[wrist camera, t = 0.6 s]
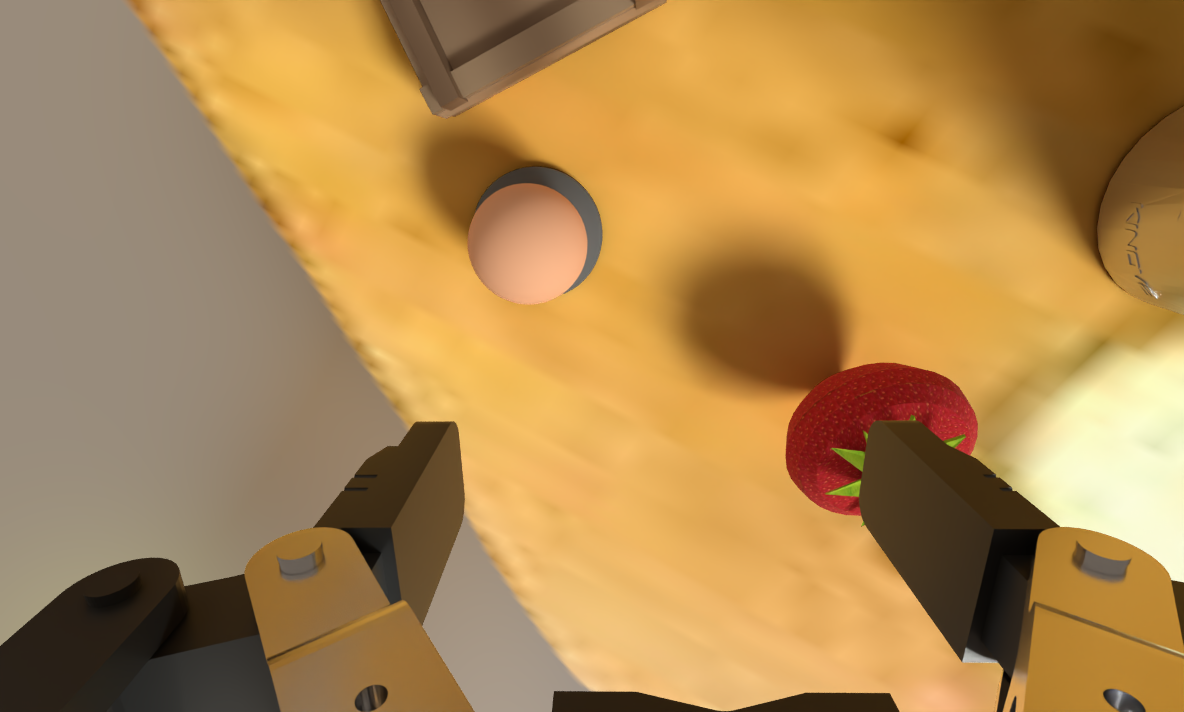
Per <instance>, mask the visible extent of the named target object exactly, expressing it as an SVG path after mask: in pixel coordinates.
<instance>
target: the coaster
mask: <svg viewBox="0 0 1184 712" xmlns="http://www.w3.org/2000/svg"><path fill="white" fill-rule="evenodd" d="M521 183H533V184H539V185H543V186H546V187H549V188H551V189H553V190H555V191H557V192H558V193H560V194H562V195H563V196H564V197H565V198H567V199H568V200H569V201H570V202H571V203H572V205H573V206H574V207H575V208H576V210H577V211H578V213H579V215H580V216H581V218H582V221H583V223H584V226H585V230H586V234H587V256H586V260H585V264H584V267H583V269H582V271H581V273H580V275H579V277H578V278H577V280H576V281H575V282H574V283H573V285H572V286H571V287H570V288H569V289H568V290H567V291H565V292H564V293H566V292H568V291H570V290H572V289H574V288H575V287H576V286H578V285H579V284H580V283H581V282H582V281H584V280H585V279H586V277H587V276H588V275H589V274H590V272H591V271H592V269H593V268H594V266H595V264H596V262H597V259H598V257H599V253H600V250H601V244H602V223H601V219H600V214H599V212H598V209H597V207H596V205H595V203H594V201H593V199H592V197H591V196H590V195H589V193H588V192H587V191H586V190H585V188H584V187H583V186H582V185H581V184H580V183H578V182H577V181H576V180H575V179H573V178H572V177H570V176H569V175H567V174H565V173H563V172H560V171H558V170H555V169H552V168H546V167H525V168H521V169H517V170H514V171H512V172H509V173H507V174H505V175H503V176H502V177H500V178H499V179H497V180H496V181H495V182H494V183H492V184H491V185H490V187H489V188H488V189H487V190H486V191H485V193H484V194H483V196H482V197H481V199H480V201H479V203H478V205H477V208H476V211H477V210H478V208H479V207H480V205H481V204H482V203H483V202H484V201H485V200H486V199H487V198H488V197H489V196H491V195H492V194H493V193H495V192H496V191H498V190H500V189H502V188H504V187H507V186H510V185H514V184H521ZM476 211H475V213H476ZM564 293H563V294H564Z"/></svg>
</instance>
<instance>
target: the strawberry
mask: <svg viewBox="0 0 1184 712" xmlns="http://www.w3.org/2000/svg"><path fill="white" fill-rule="evenodd" d="M890 420H917V421H919V422H921V423H922V424H923V425H925V426H926V427H927V428H928V429H929V430H931V431H932V432H933V433H934V434H935V435H936V436H938V437H939V438H940V439H941V440H942V441H944V442H945V443H946V444H947V445H949V446H951V447H953V448H955V449H957V450H959V451H961V452H964V453H966V454H968V455H970V454H971V453H972V451H973V449H974V445H975V442H976V439H977V429H978V423H977V420H976V416H975V412H974V410H973V409H972V407H971V405H970V404H969V402H968V400H967V399H966V397H965V396H964V394H963V393H962V391H961V390H960V388H959V387H958V386H957V385H956V384H955V383H953V382H952V381H951V380H950V379H948V378H946V377H944V376H942V375H940V374H938V373H935V372H932V371H928V370H923V369H919V368H915V367H911V366H906V365H901V364H897V363H875V364H867V365H862V366H859V367H855V368H852V369H848V370H845V371H842V372H839V373H837V374H834V375H832V376H830V377H828V378H827V379H825V380H823V381H822V382H821V383H819V384H818V385H817V386H816V387H815V388H814V389H813V390H812V391H811V392H810V393H809V394H808V395H807V396H806V397H805V398H804V400H803V401H802V402H801V403H800V404H799V406H798V407H797V409H796V410H795V412H794V413H793V416H792V418H791V420H790V423H789V426H788V432H787V441H786V465H787V470H788V472H789V475H790V477H791V479H792V480H793V482H794V483H795V484H796V485H797V487H798V488H799V489H800V490H801V491H802V492H803V493H804V494H805V495H806V496H807V497H808V498H809V499H810V500H811V501H813V502H814V503H816V504H817V505H818V506H820V507H822V508H824V509H826V510H829V511H831V512H835V513H840V514H844V515H859V516H861V512H860V505H859V491H860V484H861V478H862V471H863V464H864V458H865V451H866V444H867V438H868V432H869V429H870V427H871V425H872V423H873V422H874V421H890ZM863 525H865V523H864V521H863V523H862V526H863ZM862 526H861V527H862Z"/></svg>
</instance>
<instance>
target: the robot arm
mask: <svg viewBox="0 0 1184 712" xmlns="http://www.w3.org/2000/svg"><path fill="white" fill-rule="evenodd" d="M1097 234H1098V249H1099V252H1100V255H1101V258H1102V261H1103V264H1104V267H1105V268H1106V270H1107V271H1108V273H1109V274H1110V276H1111V277H1112V279H1113V280H1114V281H1115V283H1116V284H1118V285H1119V286H1120V287H1121V288H1122V289H1124V290H1125V291H1126V292H1127V293H1128V294H1130V295H1132V296H1134V297H1136V298H1138V299H1140V300H1143V301H1145V302H1147V303H1150V304H1153V305H1156V306H1159V307H1162V308H1165V309H1168V310H1171V311H1174V312H1177V313H1180V314H1183V315H1184V106H1183V107H1182V108H1180V109H1178V110H1177V111H1175V112H1174V113H1172V114H1170V115H1169V116H1167V117H1165V118H1164V119H1163V120H1162V121H1160V122H1159V123H1158V124H1157V125H1156V126H1155V127H1153V128H1152V129H1151V130H1150V131H1149V132H1148V133H1146V134H1145V135H1144V136H1143V137H1142V138H1141V139H1140V140H1139V141H1138V143H1137V144H1136V145H1135V146H1134V147H1133V148H1132V150H1131V151H1130V152H1129V153H1128V154H1127V155H1126V157H1125V158H1124V159H1123V161H1122V162H1121V164H1120V166H1119V167H1118V169H1117V171H1116V172H1115V174H1114V176H1113V177H1112V179H1111V180H1110V182H1109V185H1108V188H1107V190H1106V193H1105V195H1104V198H1103V201H1102V203H1101V207H1100V213H1099V219H1098V225H1097ZM464 501H465V496H464V483H463V473H462V462H461V451H460V441H459V432H458V427H457V425H456V423H455V422H415V423H414V424H413V426H412V427H411V429H410V430H409V432H408V433H407V434H406V436H405V437H404V439H403V440H402V442H401V443H400V444H399V446H387V447H386V448H384V449H383V450H381V451H379V452H378V453H376V454H375V455H373V456H371V457H370V458H368V459H367V460H366V461H365V462H364V463H363V465H362V466H361V467H360V469H359V470H358V471H357V472H356V474H355V477H354V478H352V479H351V480H350V481H349V483H348V484H347V485H346V486H345V490H344V491H342V492H341V493H340V494H339V496H338V497H337V498H336V499H335V501H334V502H333V503H332V504H331V506H330V507H329V508H328V509H327V511H326V512H325V513H324V515H323V516H322V517H321V519H320V520H319V521H318V522H317V524H316V525H315V526H314V527H313V528H310V529H304V530H300V531H296V532H293V533H290V534H287V535H285V536H282V537H280V538H278V539H276V540H274V541H272V542H270V543H269V544H267V545H265V546H264V547H263V548H261V549H260V550H259V551H258V552H257V553H255V555H253V557H252V558H251V559H250V560H249V562H248V564H247V565H246V568H245V574H242V575H238V576H234V577H229V578H224V579H219V580H214V581H209V582H204V583H199V584H194V585H189V586H184V584H183V581H182V577H181V574H180V570H179V568H178V566H177V564H176V563H174V562H173V561H171V560H168V559H163V558H144V559H143V558H142V559H136V560H131V561H127V562H123V563H119V564H116V565H113V566H110V567H107V568H105V569H102V570H100V571H98V572H95V573H93V574H91V575H89V576H87V577H85V578H83V579H82V580H80V581H78V582H76V583H75V584H73V585H72V586H71V587H69V588H67V589H66V590H65V591H63V592H62V593H61V594H60V595H59V596H57V597H56V598H55V599H54V600H53V601H52V602H51V603H49V604H48V605H47V606H46V607H45V608H44V609H42V610H41V611H40V612H39V613H38V614H37V615H35V616H34V617H33V618H32V619H31V620H30V621H28V622H27V623H26V624H25V625H24V626H23V627H22V628H20V629H19V630H18V631H17V632H16V633H15V634H14V635H12V636H11V637H10V638H9V639H8V640H7V641H5V642H4V643H3V644H2V645H1V646H0V712H474V710H473V708H472V707H471V705H470V703H469V702H468V700H467V699H466V697H465V695H464V694H463V692H462V690H461V689H460V687H459V686H458V684H457V683H456V681H455V679H454V677H453V676H452V674H451V673H450V671H449V669H448V668H447V666H446V664H445V663H444V661H443V660H442V658H441V656H440V655H439V653H438V651H437V650H436V648H435V647H434V645H433V643H432V642H431V640H430V638H429V637H428V635H427V634H426V632H425V630H424V629H423V627H422V625H423V622H424V620H425V617H426V615H427V612H428V609H429V607H430V604H431V602H432V599H433V597H434V594H435V591H436V589H437V586H438V584H439V581H440V578H441V576H442V573H443V570H444V568H445V565H446V563H447V560H448V558H449V555H450V553H451V550H452V547H453V545H454V542H455V540H456V537H457V534H458V532H459V529H460V527H461V524H462V520H463V514H464ZM859 505H860V512H861V516H862V519H863V521H864V523H865V525H866V527H867V528H868V530H869V531H870V533H871V534H872V536H873V537H874V538H875V540H876V541H877V543H878V544H879V545H880V547H881V548H882V550H883V551H884V552H885V554H886V555H887V557H888V558H889V560H890V561H891V562H892V564H893V565H894V567H895V568H896V569H897V571H898V572H899V574H900V575H901V577H902V578H903V579H904V581H905V582H906V584H907V585H908V586H909V588H910V589H911V591H912V592H913V593H914V595H915V596H916V598H917V599H918V601H919V602H920V603H921V605H922V606H923V608H924V609H925V610H926V612H927V613H928V615H929V616H930V618H931V619H932V620H933V622H934V623H935V625H936V626H937V627H938V629H939V630H940V632H941V633H942V634H943V636H944V637H945V639H946V640H947V642H948V643H949V644H950V646H951V647H952V649H953V650H954V651H955V653H956V654H957V656H958V657H959V659H960V660H961V661H962V662H974V663H999V664H1000V665H1001V667H1002V668H1003V670H1002V674H1001V678H1000V682H999V685H998V689H997V695H996V701H995V707H994V712H1184V582H1178V581H1173V580H1171V578H1170V575H1169V573H1168V572H1167V570H1166V569H1165V568H1164V567H1163V566H1162V565H1161V564H1160V563H1159V562H1158V561H1157V560H1156V559H1154V558H1153V557H1152V556H1150V555H1149V554H1147V553H1146V552H1144V551H1142V550H1141V549H1139V548H1137V547H1135V546H1133V545H1131V544H1129V543H1126V542H1124V541H1122V540H1119V539H1117V538H1114V537H1112V536H1108V535H1105V534H1102V533H1099V532H1095V531H1091V530H1086V529H1080V528H1072V527H1060V526H1059V525H1057V524H1056V523H1055V522H1054V521H1052V520H1051V519H1050V518H1049V517H1047V516H1046V515H1045V514H1044V513H1043V512H1041V511H1040V510H1039V509H1038V508H1036V507H1035V506H1034V505H1033V504H1031V503H1030V502H1029V501H1028V500H1027V499H1025V498H1024V497H1023V496H1022V495H1020V494H1019V493H1018V492H1017V491H1012V487H1011V486H1009V485H1008V484H1007V483H1006V482H1004V481H1003V480H1002V479H1001V478H996V474H995V473H993V472H992V471H991V470H990V469H988V468H987V467H986V466H985V465H984V464H982V463H981V462H980V461H979V460H977V459H976V458H974V457H972V456H970V455H968V454H966V453H964V452H961V451H959V450H957V449H955V448H953V447H951V446H949V445H947V444H946V443H945V442H944V441H942V440H941V439H940V438H939V437H938V436H936V435H935V434H934V433H933V432H932V431H931V430H929V429H928V428H927V427H926V426H925V425H923V424H922V423H921V422H919V421H917V420H890V421H874V422H873V423H872V425H871V427H870V429H869V432H868V438H867V444H866V451H865V458H864V464H863V471H862V478H861V484H860V491H859ZM552 712H899V710H898V708H897V706H896V704H895V702H894V701H893V699H892V697H891V695H890V693H804V694H799V695H795V696H791V697H787V698H783V699H779V700H775V701H771V702H767V703H762V704H758V705H754V706H750V707H746V708H742V709H738V710H734V711H717V710H712V709H708V708H703V707H699V706H695V705H690V704H686V703H682V702H677V701H673V700H669V699H664V698H660V697H656V696H652V695H647V694H643V693H639V692H585V691H577V692H576V691H573V692H572V691H567V692H566V691H554V697H553V708H552Z"/></svg>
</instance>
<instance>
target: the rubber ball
mask: <svg viewBox="0 0 1184 712" xmlns="http://www.w3.org/2000/svg"><path fill="white" fill-rule="evenodd" d="M468 252H469V258H470V261H471V264H472V266H473V268H474V271H475V272H476V274H477V276H478V277H479V279H480V280H481V281H482V283H483V284H484V285H485V286H486V287H487V288H488V289H489V290H491V291H492V292H493V293H494V294H496V295H498V296H499V297H501V298H503V299H506V300H508V301H511V302H514V303H519V304H539V303H543V302H547V301H549V300H552V299H554V298H556V297H558V296H560V295H561V294H563V293H564V292H565V291H567V290H568V289H569V288H570V287H571V286H572V285H573V283H574V282H575V281H576V280H577V278H578V277H579V275H580V273H581V271H582V269H583V267H584V264H585V260H586V256H587V234H586V230H585V226H584V223H583V221H582V218H581V216H580V215H579V213H578V211H577V210H576V208H575V207H574V206H573V205H572V203H571V202H570V201H569V200H568V199H567V198H565V197H564V196H563V195H562V194H560V193H558V192H557V191H555V190H553V189H551V188H549V187H546V186H543V185H539V184H533V183H521V184H514V185H510V186H507V187H504V188H502V189H500V190H498V191H496V192H495V193H493V194H492V195H491V196H489V197H488V198H487V199H486V200H485V201H484V202H483V203H482V204H481V205H480V207H479V208H478V210H477V211H476V213H475V215H474V217H473V219H472V222H471V225H470V228H469V233H468Z"/></svg>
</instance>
